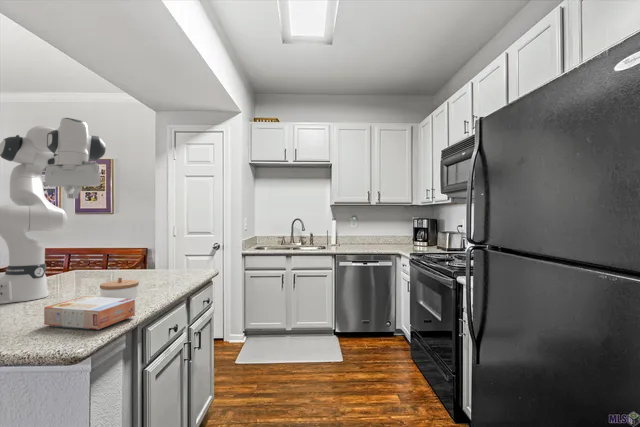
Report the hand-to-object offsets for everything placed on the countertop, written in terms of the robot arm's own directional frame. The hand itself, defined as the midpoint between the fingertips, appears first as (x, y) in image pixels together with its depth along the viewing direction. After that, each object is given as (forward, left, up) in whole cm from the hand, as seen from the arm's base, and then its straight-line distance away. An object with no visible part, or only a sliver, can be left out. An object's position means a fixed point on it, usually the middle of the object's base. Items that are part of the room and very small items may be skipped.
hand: (72, 198), depth 118 cm
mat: (+19, -11, -41) cm, 47 cm away
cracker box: (+9, -11, -38) cm, 40 cm away
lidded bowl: (+15, +6, -41) cm, 44 cm away
